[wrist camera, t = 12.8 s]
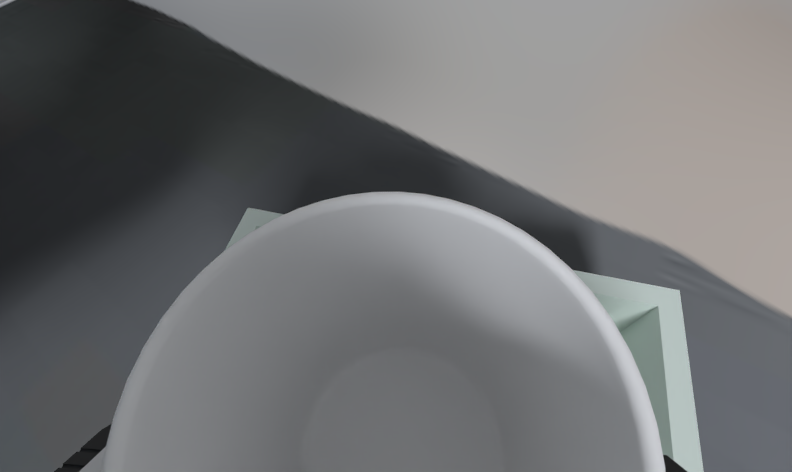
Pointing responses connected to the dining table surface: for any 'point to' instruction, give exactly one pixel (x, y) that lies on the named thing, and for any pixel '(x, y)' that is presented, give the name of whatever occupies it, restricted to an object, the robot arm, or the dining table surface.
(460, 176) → the dining table surface
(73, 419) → the dining table surface
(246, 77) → the dining table surface
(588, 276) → the bin
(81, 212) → the dining table surface
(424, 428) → the mug
